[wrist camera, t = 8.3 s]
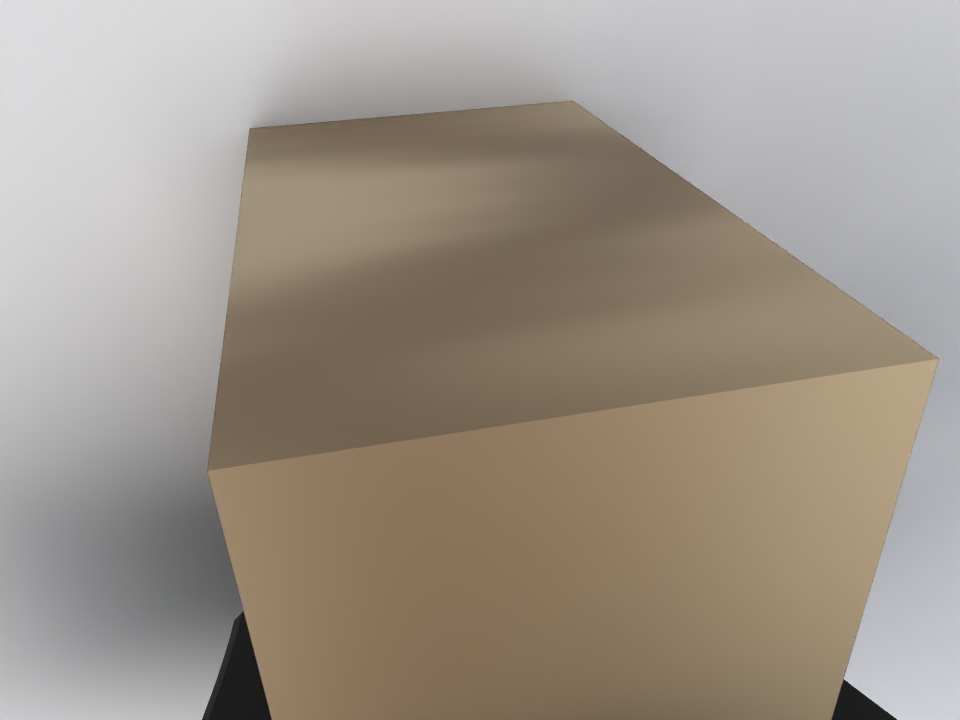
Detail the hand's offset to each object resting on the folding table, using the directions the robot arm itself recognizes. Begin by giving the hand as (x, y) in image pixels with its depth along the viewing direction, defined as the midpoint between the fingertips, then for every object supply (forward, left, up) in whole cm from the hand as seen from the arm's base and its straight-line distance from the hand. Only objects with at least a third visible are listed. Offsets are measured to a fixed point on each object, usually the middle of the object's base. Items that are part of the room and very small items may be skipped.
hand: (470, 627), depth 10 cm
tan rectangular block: (0, 0, -2) cm, 2 cm away
